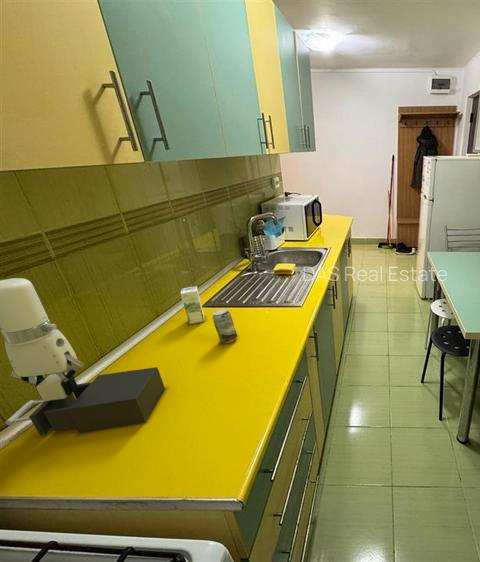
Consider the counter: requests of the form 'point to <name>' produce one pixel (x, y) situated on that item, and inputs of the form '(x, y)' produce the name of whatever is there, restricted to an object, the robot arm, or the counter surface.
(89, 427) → the dark grey drawer box
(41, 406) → the dark grey drawer
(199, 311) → the syrup box
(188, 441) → the counter surface
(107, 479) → the counter surface
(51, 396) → the block
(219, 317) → the beverage can
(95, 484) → the counter surface
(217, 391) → the counter surface
